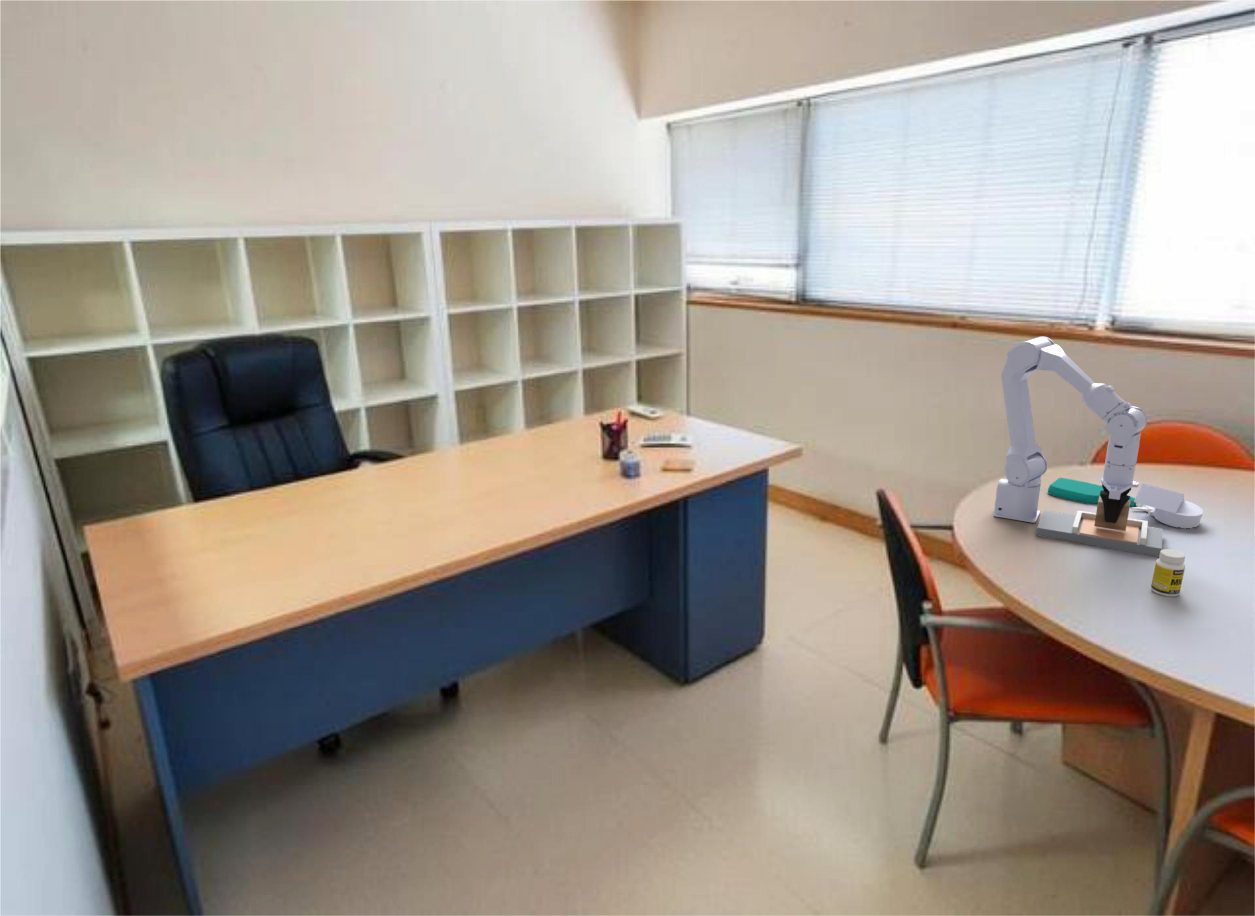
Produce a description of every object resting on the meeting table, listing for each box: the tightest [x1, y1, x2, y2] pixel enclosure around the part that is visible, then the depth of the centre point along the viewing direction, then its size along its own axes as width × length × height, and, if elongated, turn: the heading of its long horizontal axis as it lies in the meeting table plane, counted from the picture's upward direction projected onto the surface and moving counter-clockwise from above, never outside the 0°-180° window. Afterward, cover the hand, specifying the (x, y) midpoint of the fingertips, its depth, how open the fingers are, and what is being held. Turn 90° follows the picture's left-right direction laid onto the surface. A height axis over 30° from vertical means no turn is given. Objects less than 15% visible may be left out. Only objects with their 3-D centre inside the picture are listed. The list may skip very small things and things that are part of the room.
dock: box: [1035, 509, 1164, 557], centre depth 172 cm, size 24×12×4 cm, turn 55°
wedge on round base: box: [1134, 483, 1204, 529], centre depth 178 cm, size 9×7×13 cm
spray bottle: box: [1047, 477, 1155, 517], centre depth 193 cm, size 3×11×24 cm
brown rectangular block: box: [1094, 496, 1131, 531], centre depth 169 cm, size 6×4×6 cm, turn 55°
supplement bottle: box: [1150, 548, 1186, 598], centre depth 147 cm, size 5×5×8 cm
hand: (1111, 518), depth 169 cm, fingers closed on brown rectangular block, 4 cm apart
